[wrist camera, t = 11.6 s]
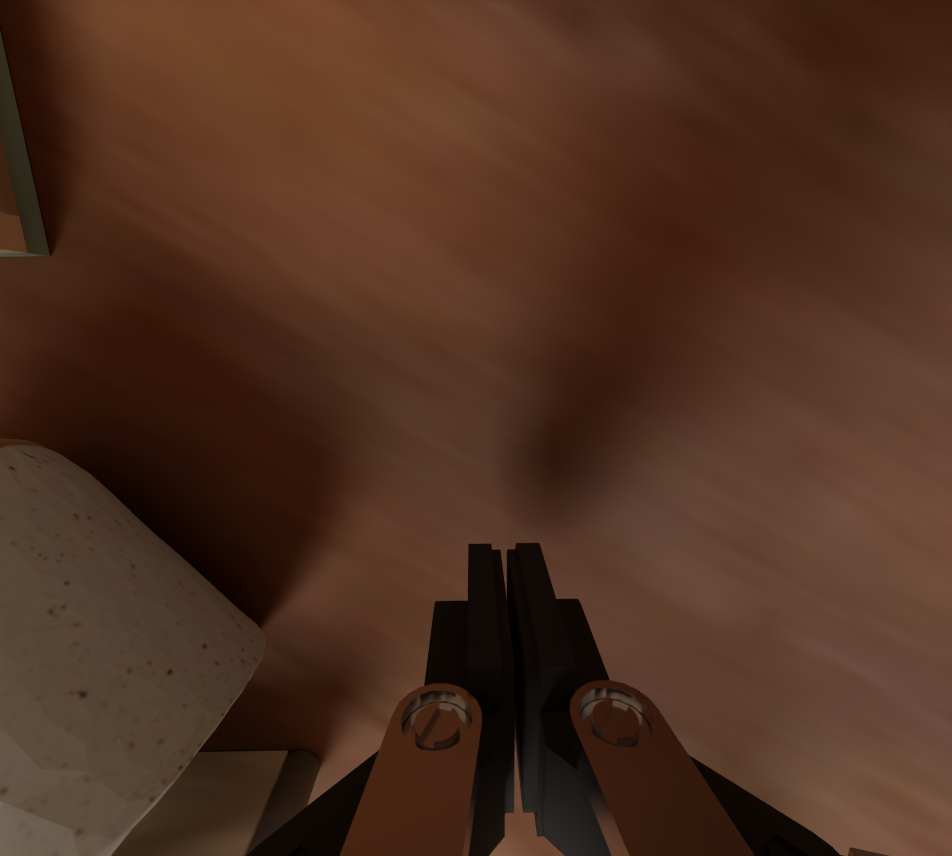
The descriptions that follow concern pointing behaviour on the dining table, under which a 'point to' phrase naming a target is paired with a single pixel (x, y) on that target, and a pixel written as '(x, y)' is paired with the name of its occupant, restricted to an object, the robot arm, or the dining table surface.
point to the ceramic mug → (99, 660)
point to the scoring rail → (225, 804)
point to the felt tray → (16, 180)
